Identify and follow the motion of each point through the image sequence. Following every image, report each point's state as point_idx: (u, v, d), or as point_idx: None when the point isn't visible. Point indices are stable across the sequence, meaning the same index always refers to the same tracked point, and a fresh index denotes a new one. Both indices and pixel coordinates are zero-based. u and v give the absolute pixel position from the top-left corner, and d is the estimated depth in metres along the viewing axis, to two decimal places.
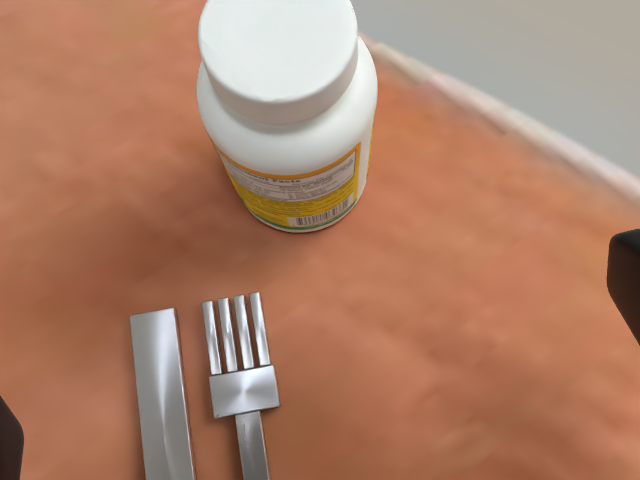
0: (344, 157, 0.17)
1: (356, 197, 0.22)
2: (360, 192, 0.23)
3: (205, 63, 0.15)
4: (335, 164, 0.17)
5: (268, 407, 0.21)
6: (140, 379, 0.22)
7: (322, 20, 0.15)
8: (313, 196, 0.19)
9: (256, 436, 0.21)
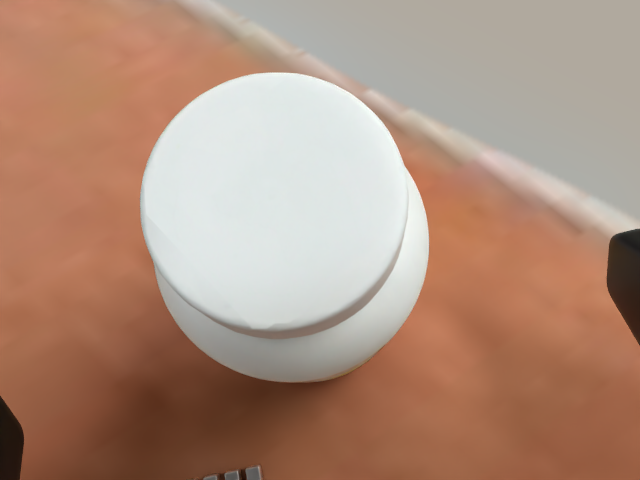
0: (381, 347, 0.11)
1: None
2: None
3: (153, 258, 0.09)
4: (367, 358, 0.11)
5: None
6: None
7: (349, 177, 0.09)
8: (332, 377, 0.13)
9: None
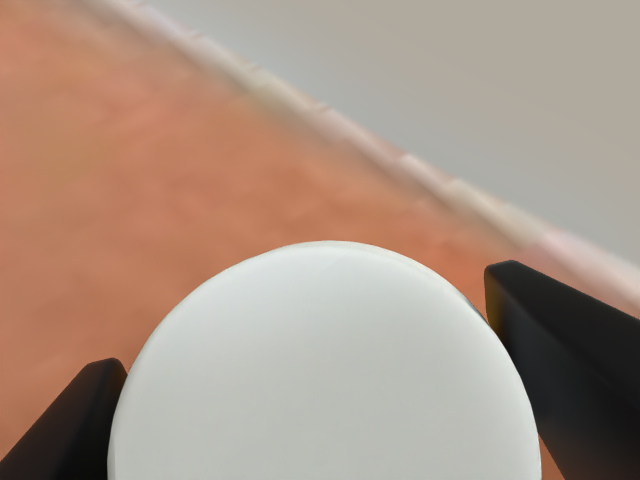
0: None
1: None
2: None
3: None
4: None
5: None
6: None
7: (444, 431, 0.05)
8: None
9: None
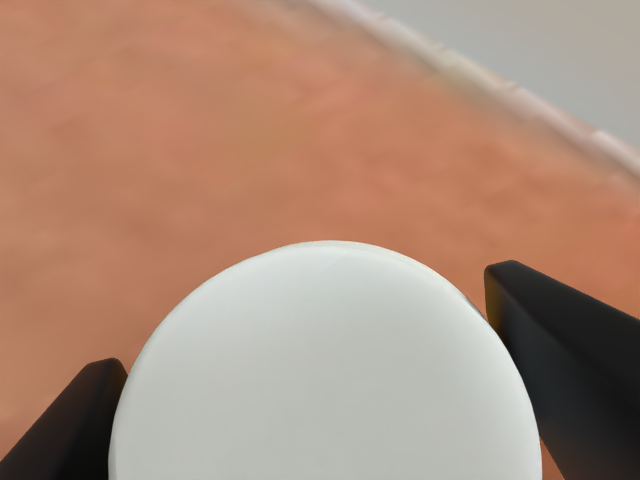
0: None
1: None
2: None
3: None
4: None
5: None
6: None
7: (445, 431, 0.05)
8: None
9: None
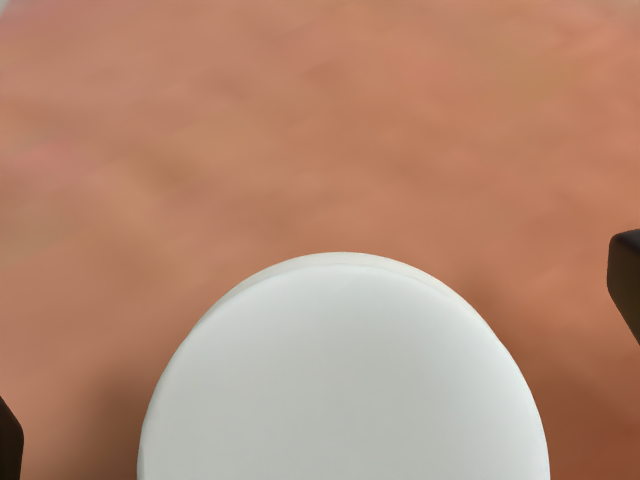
0: None
1: None
2: None
3: None
4: None
5: None
6: None
7: (458, 442, 0.06)
8: None
9: None
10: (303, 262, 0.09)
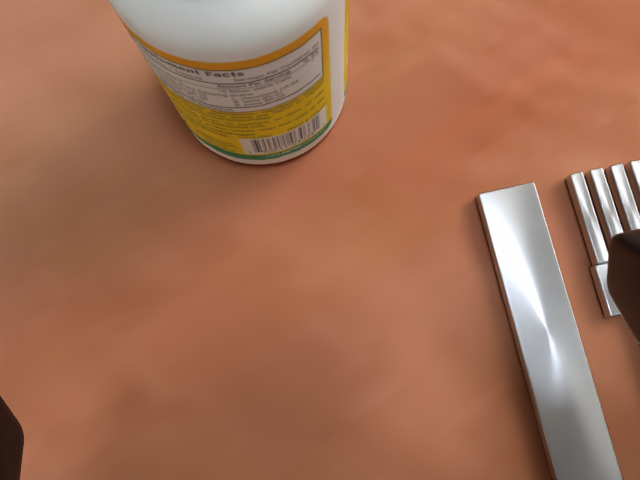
0: (304, 37, 0.12)
1: (331, 116, 0.17)
2: (336, 111, 0.18)
3: None
4: (292, 49, 0.12)
5: None
6: (505, 271, 0.17)
7: None
8: (267, 103, 0.14)
9: None
10: None
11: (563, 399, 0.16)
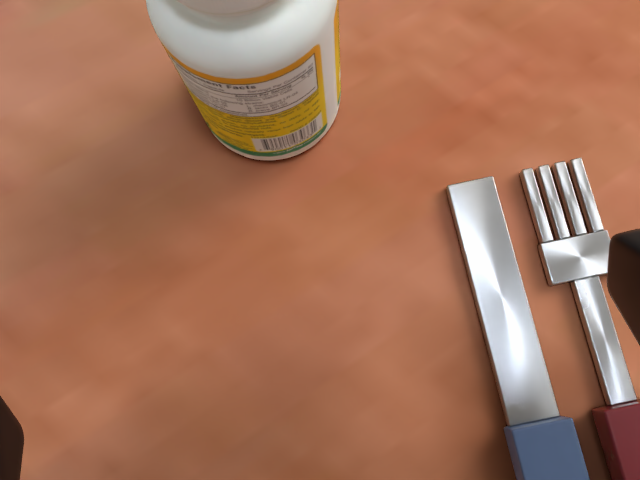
0: (301, 60, 0.16)
1: (326, 121, 0.21)
2: (331, 117, 0.22)
3: None
4: (292, 68, 0.16)
5: None
6: (468, 248, 0.21)
7: None
8: (273, 109, 0.18)
9: (600, 301, 0.20)
10: None
11: (513, 350, 0.20)
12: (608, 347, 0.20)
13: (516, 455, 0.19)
